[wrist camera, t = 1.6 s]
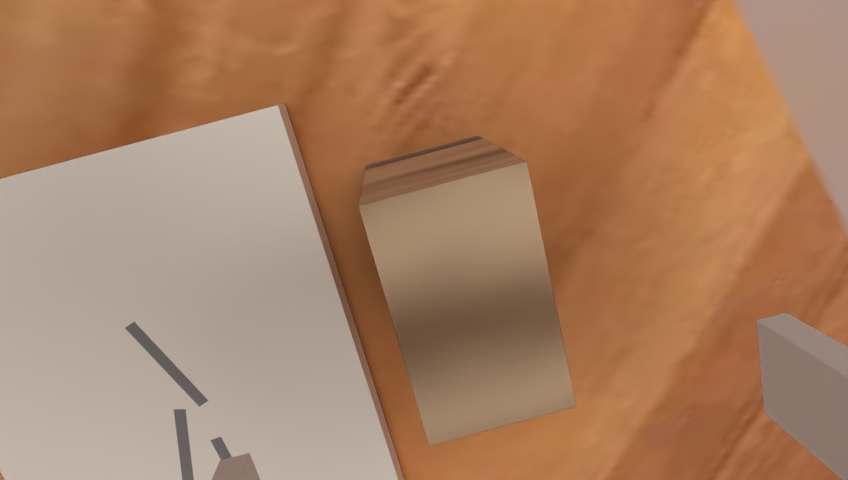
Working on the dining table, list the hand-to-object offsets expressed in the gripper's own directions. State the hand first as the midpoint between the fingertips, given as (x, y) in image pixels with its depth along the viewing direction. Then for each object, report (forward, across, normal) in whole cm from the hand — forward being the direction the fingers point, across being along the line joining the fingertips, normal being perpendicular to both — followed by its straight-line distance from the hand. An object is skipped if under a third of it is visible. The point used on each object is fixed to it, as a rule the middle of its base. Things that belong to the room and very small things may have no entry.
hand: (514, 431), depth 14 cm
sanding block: (+17, 0, 0) cm, 17 cm away
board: (+17, -16, -6) cm, 24 cm away
